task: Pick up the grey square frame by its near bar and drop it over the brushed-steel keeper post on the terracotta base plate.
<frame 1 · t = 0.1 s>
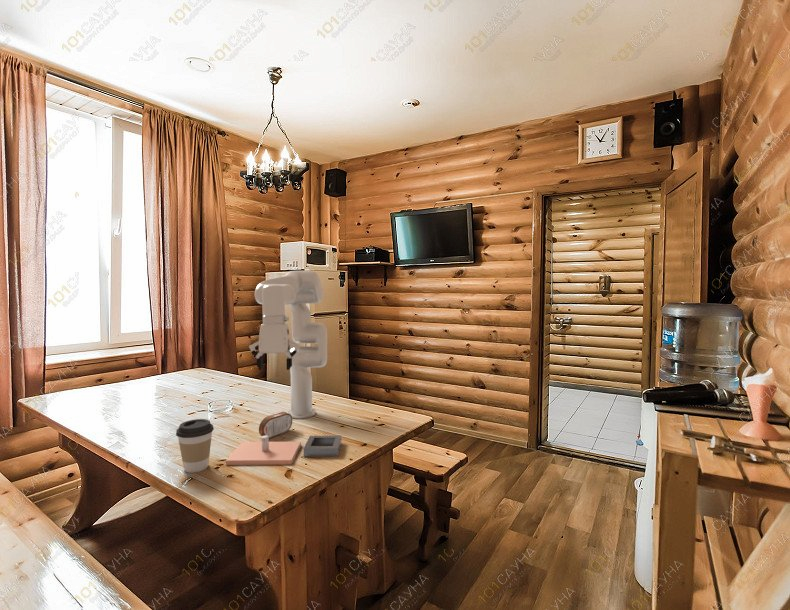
hand: (274, 369, 146), 31 cm above the table, tool pointing down, fingers open, 9 cm apart
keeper: (265, 454, 149), on the table
coffee cup: (196, 468, 139), on the table
grey square frame: (323, 449, 154), on the table
tin: (276, 435, 168), on the table
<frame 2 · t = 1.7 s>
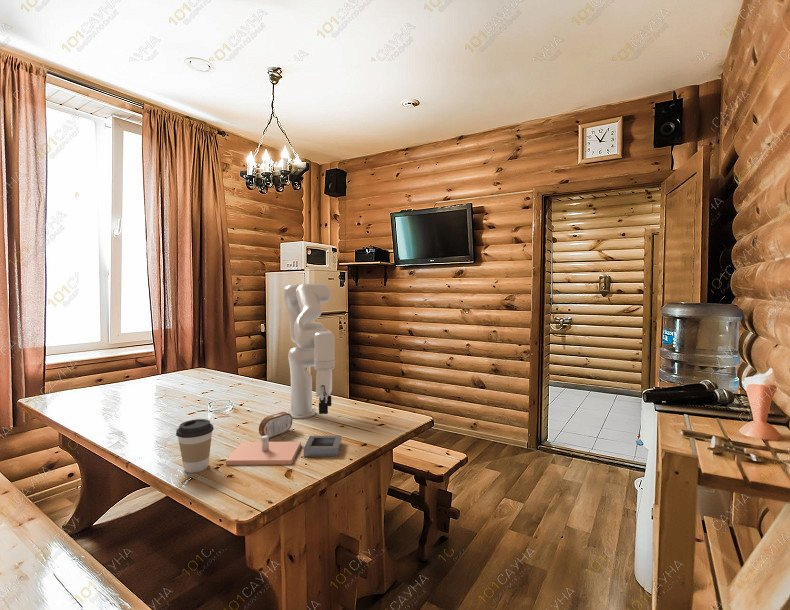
hand: (325, 409, 157), 14 cm above the table, tool pointing down, fingers open, 9 cm apart
nothing on the table moved.
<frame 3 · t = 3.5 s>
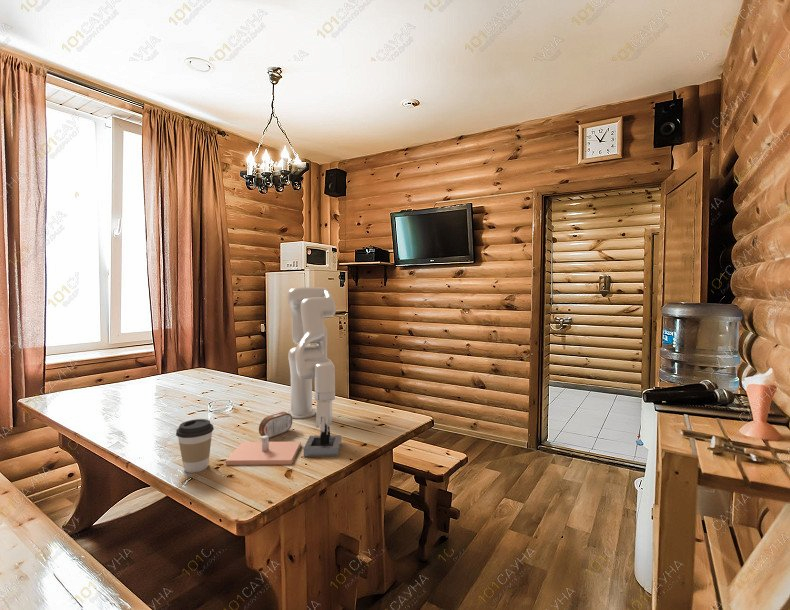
hand: (325, 442, 159), 1 cm above the table, tool pointing down, fingers closed on grey square frame, 2 cm apart
grey square frame: (323, 449, 154), on the table, touching gripper
everything else where it was.
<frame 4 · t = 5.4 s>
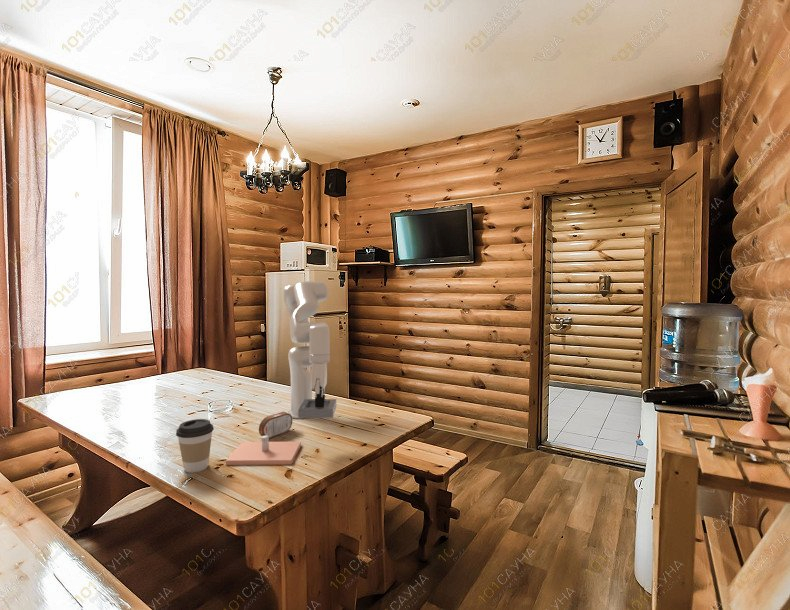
hand: (320, 405, 158), 15 cm above the table, tool pointing down, fingers closed on grey square frame
grey square frame: (318, 412, 153), point 14 cm above the table, touching gripper
everything else where it was.
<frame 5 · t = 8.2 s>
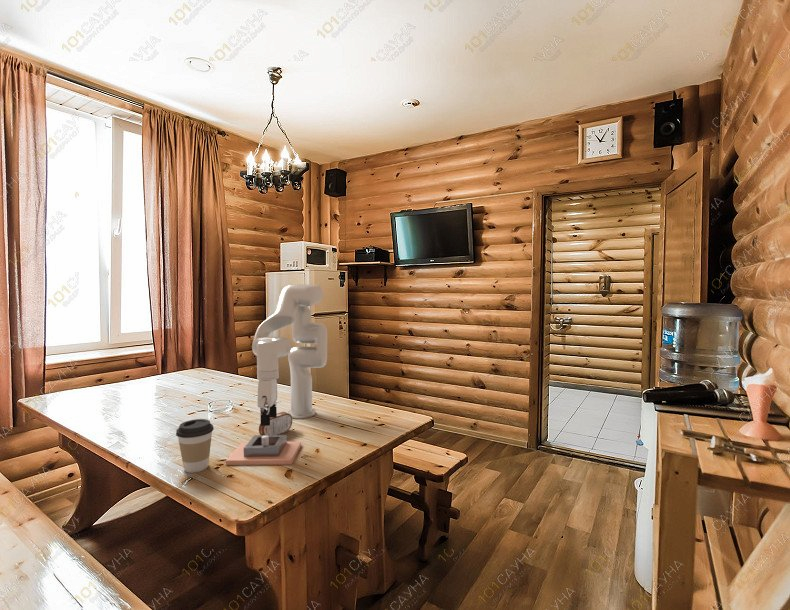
hand: (268, 420, 154), 11 cm above the table, tool pointing down, fingers open, 8 cm apart
grey square frame: (266, 449, 150), point 1 cm above the table, touching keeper
everything else where it was.
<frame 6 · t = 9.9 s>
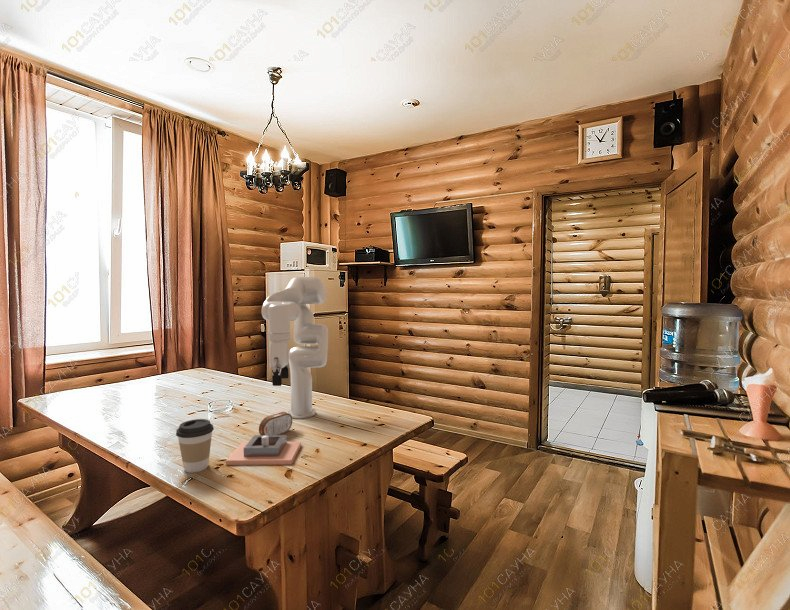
hand: (280, 381, 158), 24 cm above the table, tool pointing down, fingers open, 9 cm apart
nothing on the table moved.
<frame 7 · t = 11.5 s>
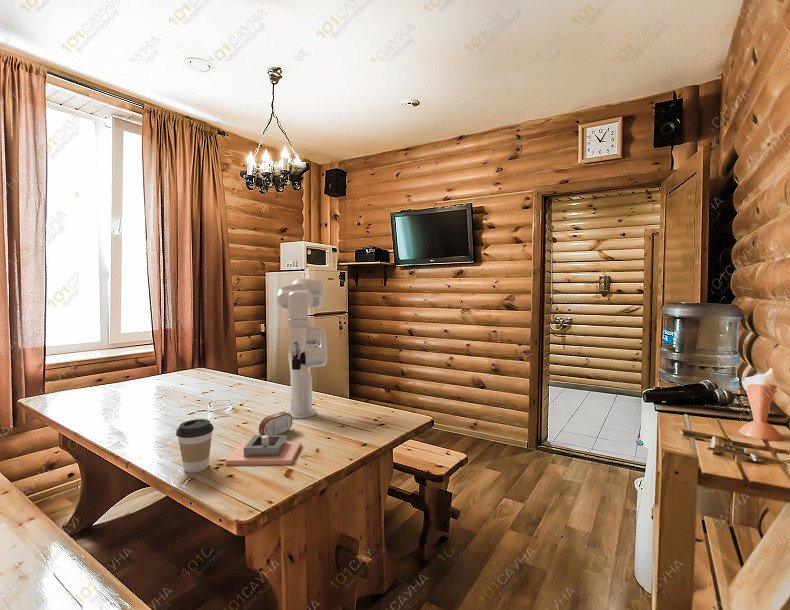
hand: (299, 366, 164), 28 cm above the table, tool pointing down, fingers open, 9 cm apart
nothing on the table moved.
at the end: grey square frame 1.0 cm from the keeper (horizontally); grey square frame point 1.5 cm above the table; the gripper is holding nothing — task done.
